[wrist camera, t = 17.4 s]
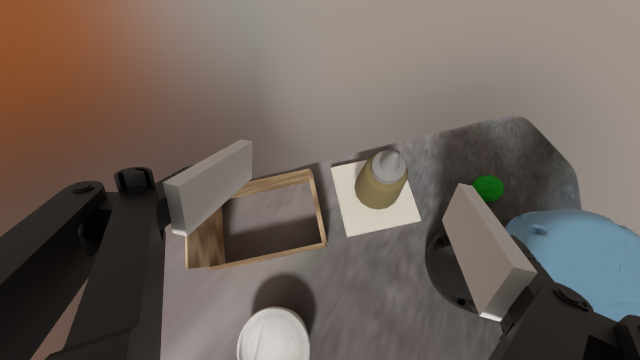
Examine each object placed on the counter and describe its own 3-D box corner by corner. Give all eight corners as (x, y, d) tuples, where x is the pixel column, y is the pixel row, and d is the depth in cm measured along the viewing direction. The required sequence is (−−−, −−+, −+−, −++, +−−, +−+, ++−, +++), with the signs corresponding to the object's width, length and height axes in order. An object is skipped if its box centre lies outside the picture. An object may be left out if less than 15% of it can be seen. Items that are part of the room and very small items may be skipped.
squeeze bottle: (397, 213, 45) (433, 184, 28) (353, 213, 45) (363, 185, 28) (393, 173, 47) (424, 124, 30) (352, 173, 48) (360, 125, 31)
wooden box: (328, 246, 45) (324, 241, 34) (223, 268, 45) (185, 271, 34) (314, 178, 50) (306, 154, 38) (219, 199, 50) (183, 181, 38)
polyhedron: (460, 187, 47) (473, 179, 42) (481, 175, 47) (496, 166, 43) (478, 209, 45) (493, 203, 41) (499, 196, 46) (516, 189, 41)
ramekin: (240, 316, 42) (227, 324, 37) (299, 291, 43) (294, 295, 38) (259, 389, 39) (247, 408, 34) (323, 360, 40) (320, 375, 35)
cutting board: (419, 221, 45) (421, 220, 44) (346, 237, 45) (347, 236, 44) (396, 155, 50) (398, 153, 49) (330, 169, 50) (330, 167, 49)
